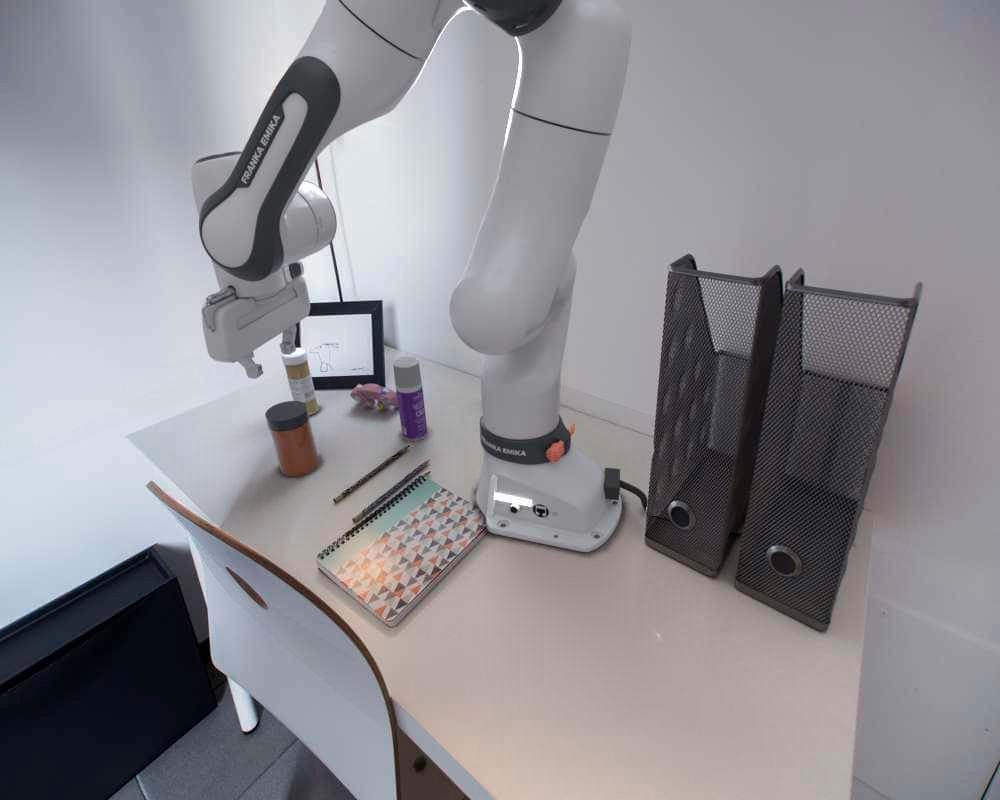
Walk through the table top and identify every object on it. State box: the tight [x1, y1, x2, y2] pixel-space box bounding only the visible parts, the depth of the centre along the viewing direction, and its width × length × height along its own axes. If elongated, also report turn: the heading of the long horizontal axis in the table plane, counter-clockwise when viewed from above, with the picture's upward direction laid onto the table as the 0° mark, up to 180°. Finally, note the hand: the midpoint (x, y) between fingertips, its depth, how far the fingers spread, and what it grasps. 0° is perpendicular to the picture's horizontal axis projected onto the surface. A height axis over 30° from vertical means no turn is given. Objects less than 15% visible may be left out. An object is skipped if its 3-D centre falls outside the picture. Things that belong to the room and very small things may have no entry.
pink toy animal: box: [350, 383, 398, 410], centre depth 108 cm, size 10×5×7 cm
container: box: [392, 356, 428, 442], centre depth 96 cm, size 5×5×15 cm
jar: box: [268, 418, 321, 477], centre depth 89 cm, size 6×6×11 cm
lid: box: [264, 400, 310, 431], centre depth 87 cm, size 6×6×2 cm
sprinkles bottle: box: [280, 347, 320, 417], centre depth 105 cm, size 5×5×14 cm
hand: (273, 364), depth 82 cm, fingers open, 7 cm apart
